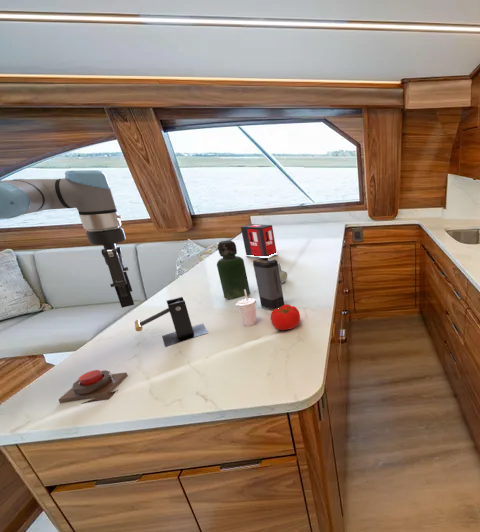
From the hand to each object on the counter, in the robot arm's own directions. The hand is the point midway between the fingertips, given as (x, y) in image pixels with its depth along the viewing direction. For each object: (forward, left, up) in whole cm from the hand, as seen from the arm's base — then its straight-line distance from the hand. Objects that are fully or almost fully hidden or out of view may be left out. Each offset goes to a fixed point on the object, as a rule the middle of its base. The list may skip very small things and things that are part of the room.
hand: (127, 298), depth 89 cm
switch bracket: (+9, +6, -18) cm, 21 cm away
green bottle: (+16, +40, -18) cm, 47 cm away
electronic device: (+34, +24, -18) cm, 46 cm away
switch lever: (+5, +3, -9) cm, 11 cm away
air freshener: (+31, +52, -18) cm, 63 cm away
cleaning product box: (+13, +105, -18) cm, 107 cm away
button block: (-2, -18, -18) cm, 26 cm away
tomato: (+42, +6, -18) cm, 46 cm away
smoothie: (+29, +9, -18) cm, 36 cm away
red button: (-2, -18, -15) cm, 23 cm away
